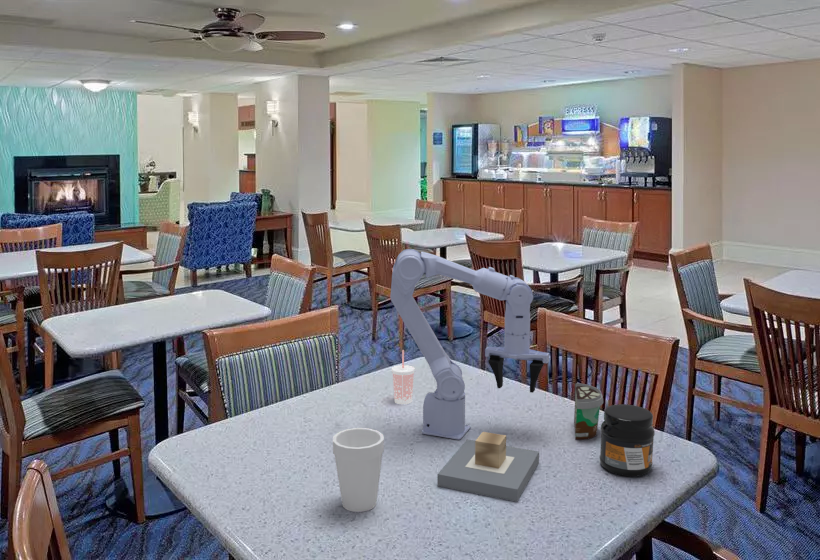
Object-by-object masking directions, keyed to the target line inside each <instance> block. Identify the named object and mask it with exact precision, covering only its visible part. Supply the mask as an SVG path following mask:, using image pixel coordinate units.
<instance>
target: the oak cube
mask: <svg viewBox="0 0 820 560" xmlns="http://www.w3.org/2000/svg"><path fill="white" fill-rule="evenodd" d="M474 441H475V464H477V465H482V466H488V467H493V468H500V466H501V465H502V463H503V462H504V460H505V459H506V446H507V435H506V434H498V433H493V432H488V431H487V432H486V431H482V432H481V433H480V435H479V436H478V437H476V439H475V440H474Z"/></svg>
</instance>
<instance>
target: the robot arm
mask: <svg viewBox="0 0 820 560" xmlns="http://www.w3.org/2000/svg"><path fill="white" fill-rule="evenodd" d="M391 273H392V274H391V286H390V297H389V298H390V301H391V303H392V305H393V306H394V308H395V310H396V311H397V314H398V315H399V317H400V318H401V320H402V322H403V323H404V325H405V326H406V329H407V330H408V332H409V333H410V335H411V337H412V338H413V340H414V342H415V344H416V345H417V347H418V349H419V351H420V352H421V354H422V355H423V358H424V359H425V360H426V363H427V364H428V366H429V369H430V371H431V373H432V376H433V378H434V380H435V382H436V390H435V391H433V392H432V391H431V392H428V393H426V395H425V397H424V399H423V405H422V431H421V434H423V435H428V436H433V437H440V438H447V439H453V440H461V439H463V437H464V436H465V435H466V433H468V431H469V430H471V425H470V424H469V425H468V424H466V391H465V388H466V385H465V384H466V383H465V380H464V378H463V371H462V369H461V367H460V366H459V365H458V364H457V363H455V362H453V360H452V359H451V358H450V356H449V354H448V353H446V350H444V348H443V346H442V344H441V343H440V341H439V339H438V338H437V336H436V334H435V332H434V330H433V329H432V327H431V325H430V324H429V322H428V320H427V318H426V317H425V315H424V313H423V312H422V309H421V308H420V307H419V305H418V303H417V300H415V298H414V296H413V294H414V291H415V288H416V285H417V284H418V283H419V281H420V280H421V279H422V277H423V276H424V274H425V278H430V277H434V276H437V275H441V276H444V277H448V278H449V279H454V280H458V281H460V282H463V283H466V284H470V285H471V286H472V288H473V290H474V292H476V293H478V294H481V295H483V296H484V295H485V296H487V297H490V298H492V299H496V300H498V301H505V312H504V341H503V342H504V345H503V346H487V347H486V348H485V349H484V356H485V358H486V357H487V358H489V359H488V365H489V367H490V369H491V371H492V372H493V375H494V378H495V382H496V388H497V389H501V388H502V387H503V385H504V372H503V371H504V362H505V360H504V359H512V360H519V361H520V360H521V361H531V362H530V364H529V372H530V373H529V374H530V375H529V377H530V378H529V379H530V382H529V393H531V394H532V393H534V392H535V391H536V386H537V382H538V378H539V375H540V374H541V370H542V369H543V367H544V366H545V364H548V363H549V362H550V352H545V351H539V350H535V349H530V344H531V343H530V342H531V341H530V340H531V339H530V336H531V311H530V310H531V303H532V302H533V300H534V294H533V290H532V288H531V287H530V285H528V283H527V282H526V281H524V280H523V279H521V278H520V277H515V275H512V274H509V276H508V275H507V274H506V275H505V274H504V273H500V272H497V271H496V270H495V268H493V267H491V266H488V268H485V267H481V268H480V269H476V270H475V269H472V268H469V267H467V266H464V265H462V264H459V263H457V262H454V261H451V260H449V259H446V258H444V257H442V256H439V255H436V254H433V253H429V252H425V251H421V252H419V251H418V250H417V249H413V248H406V249H403V250H402V251H401V252H400V253H399V254H398V255H397V257H396V259H395V262H394V264H393V267H392V272H391Z"/></svg>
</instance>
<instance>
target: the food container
mask: <svg viewBox="0 0 820 560" xmlns="http://www.w3.org/2000/svg"><path fill="white" fill-rule="evenodd" d="M574 385H575V388H574V389H575V390H574V413H573V414H574V415H573V427H574V441H576V440H577V441H585V440H587V441H588V440H590V439H593V438H595V437H596V436H597V433H598V426H599V419H600V418H599V415H600V408H601V406H602V405H603V404H604V398H603V397H604V396H603V394H602V390H600V389H599V388H598V387H595V386H592V385H590V384H585V383H578V382H575V384H574Z"/></svg>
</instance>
